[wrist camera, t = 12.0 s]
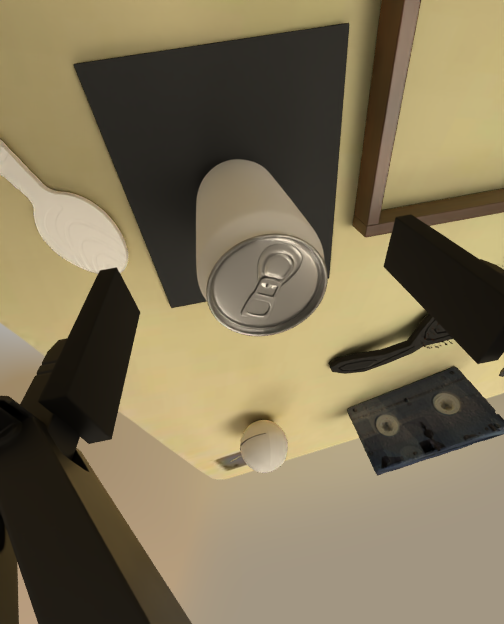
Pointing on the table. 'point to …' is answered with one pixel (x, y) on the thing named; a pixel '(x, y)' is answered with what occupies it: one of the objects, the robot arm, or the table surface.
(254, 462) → the seamed sphere
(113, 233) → the spoon
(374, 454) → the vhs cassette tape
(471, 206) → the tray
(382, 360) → the hairbrush
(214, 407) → the table surface
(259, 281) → the can
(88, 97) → the mat
